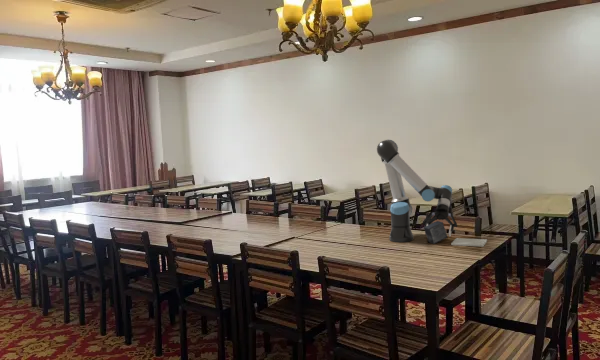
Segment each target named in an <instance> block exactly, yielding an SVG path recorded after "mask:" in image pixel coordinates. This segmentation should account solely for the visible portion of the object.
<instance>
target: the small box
mask: <svg viewBox="0 0 600 360" xmlns="http://www.w3.org/2000/svg"><path fill="white" fill-rule="evenodd" d="M445 228H446V227H445V224H444V221H441V220H435V221H434V222H432V223H431V224H429V225H428V226H425V225H424V227H423V229H424V233H426V234H425V237H426V240H427V242H428V243H430V244H432V245H435V244H437V243H439V242H442V241H444V240H446V239H448V238H449V237H448V234H447V231H446V229H445Z"/></svg>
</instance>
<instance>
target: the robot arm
mask: <svg viewBox="0 0 600 360" xmlns="http://www.w3.org/2000/svg"><path fill="white" fill-rule="evenodd" d="M376 146H377V147H376V152H377V154H378V156H379V157H380V159H381V160H380V161H381V163H383V164H384V167H385V171H386V175H387V179H388V183H389V186H390V187H389V188H390V192H391V196H392V200H391V204H390V209H389V210H390V222H391V223H390V224H391V229H390V233H389V241H390V242H394V243H406V242H412V241H413V240H414V238H415V237H414V234H413V232H412V228H411V224H410V223H411V221H410V217H411V216H412V214H413V207H412V204H411V202H410V198H409V197H408V196H407V195H406V191H405V186H404V183H403V179H404V180H405V181H406V182H407V183H408V184H409V185H411V187H412V188H413V189H414V190H415V191H416V192H417V193H418V194H419V195H420V197H421V199H423V200H424V201H425V202H431V201H433V200H434V199H435V200H438V201H437V205H436V209H435V212H433V211H430V212H429V214H428V215H427V216H426V218H424V220H423V221H422V225H423V226H424V227H425V226H428V225H430V224H432V223H434V222H436V221H444V220H445V221H446V222H447V223H448V224H449V230H448V236H449V237H451V235H452V232H454V229H455V228H457V227H458V224H457V222H456V218H455V217H454V213H453V212H452V211H451V212H449V211H450V205H451V200H452V195H453V187H451V186H450V185H447V184H445V185H441V186H440V187H438V186H437V187H436V186H431V185H428V184H427V183H426V182H425V181H424V179H422V178H421V177H420V176H419V175H418V174H417V173H416V171H414V169H413V168H412V167H411V166H410V165H409V164H408V163H407V162H406V161H405V160H404V159H403V158H402V157H401V156H400V152H399V147H398V144H397V143H396V142H395V141H394V140H392V139H384V140H381V141H380V142H379V143H378V144H377V145H376ZM402 177H403V178H402ZM448 217H450V218H451V220H452V221H451V220H450V219H449V218H448ZM424 233H425V232H424ZM425 235H426V233H425ZM449 237H448V238H449Z"/></svg>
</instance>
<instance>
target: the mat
mask: <svg viewBox="0 0 600 360" xmlns="http://www.w3.org/2000/svg"><path fill="white" fill-rule="evenodd" d="M487 242H488V239H484V238H461V237H459V238H458V237H456V238H455V239H454V240H453V241H451V244H450V245H451V246H460V247H463V246H464V247H481V248H482V247H485V245H486V244H487Z"/></svg>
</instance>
